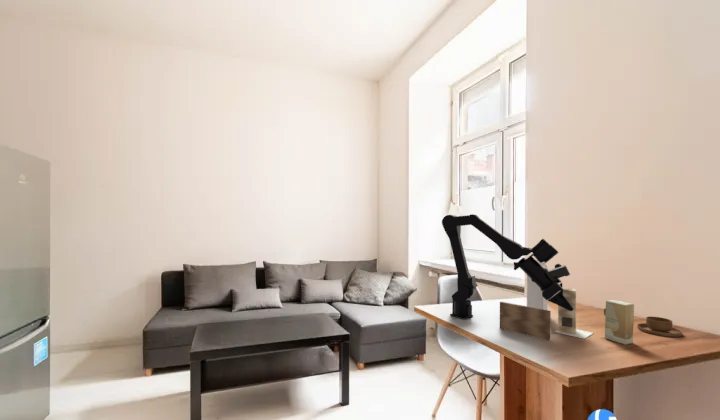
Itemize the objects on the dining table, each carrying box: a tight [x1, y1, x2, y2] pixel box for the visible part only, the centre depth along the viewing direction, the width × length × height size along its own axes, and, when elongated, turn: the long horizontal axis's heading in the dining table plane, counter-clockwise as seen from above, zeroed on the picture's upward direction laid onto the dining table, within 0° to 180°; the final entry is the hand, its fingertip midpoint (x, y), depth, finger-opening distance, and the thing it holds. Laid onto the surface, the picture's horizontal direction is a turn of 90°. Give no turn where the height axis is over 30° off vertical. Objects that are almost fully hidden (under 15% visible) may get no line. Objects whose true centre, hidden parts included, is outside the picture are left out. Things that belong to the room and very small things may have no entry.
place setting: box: [603, 307, 683, 338], centre depth 126 cm, size 18×20×6 cm
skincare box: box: [604, 299, 635, 345], centre depth 112 cm, size 6×4×12 cm
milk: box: [526, 259, 549, 310], centre depth 140 cm, size 6×6×22 cm
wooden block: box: [557, 287, 577, 334], centre depth 121 cm, size 5×5×14 cm
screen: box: [499, 301, 552, 342], centre depth 117 cm, size 16×1×9 cm, turn 41°
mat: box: [554, 328, 594, 340], centre depth 119 cm, size 9×9×1 cm
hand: (571, 307), depth 120 cm, fingers open, 9 cm apart
